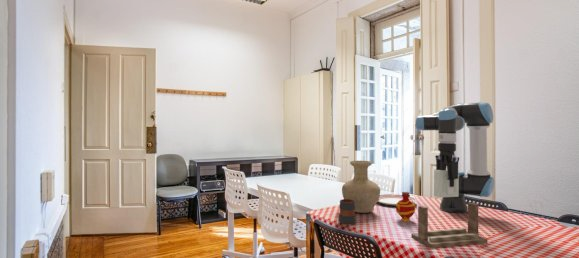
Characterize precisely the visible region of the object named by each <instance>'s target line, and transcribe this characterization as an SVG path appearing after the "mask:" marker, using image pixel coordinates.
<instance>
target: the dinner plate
mask: <svg viewBox="0 0 579 258" xmlns="http://www.w3.org/2000/svg"><path fill="white" fill-rule="evenodd" d="M401 195H402V194H392V193H391V194H390V193H389V194H388V193H387V194H380V197H379V200H378V201H377V203H380V204H382V205H385V206H389V207H390V206H392V207H396V204H397V203H398V201H400V200H402V199H403V197H402V196H401ZM408 199H410V201H412V202H413V203H414V204H415V203H416V202H417V198H415V197H412V196H410V197H408Z"/></svg>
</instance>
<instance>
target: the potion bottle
mask: <svg viewBox="0 0 579 258" xmlns="http://www.w3.org/2000/svg"><path fill="white" fill-rule="evenodd" d="M400 195H401V196H402V197H403V199H402V200H400V201H398V203H397V204H396V206H395V211H396V213H397V214H398V215H399V217H400V221H402V222H411V220H412V219H411V218H412V217H413V216H414V214H415V213H416V209H417V208H416V204H415V203H413V202H412V201H410V199H408V197H411V195H410V192H409V191H402V192H401V194H400Z"/></svg>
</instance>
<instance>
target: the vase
mask: <svg viewBox="0 0 579 258" xmlns="http://www.w3.org/2000/svg"><path fill="white" fill-rule="evenodd" d="M349 164H350V165H351V166H353V169H354V171H353V178H352V179H351V180H348V181H346V182H345V183H344V184H342V188H341V192H342V193H341V194H342V198H343V199H351V200H354V202H355V213H359V214H367V213H371V212H373V211H374V208H375V206H376V205H377V203H378V200H379V197H380V195H381V188H380V186H379V185H378V184H377V183H375V182H374V181H372V180H370V179H369V177H368V172H369V171H368V169H369V167H370V166H372V164H373V162H372V161H370V160H369V161H368V160H350V161H349Z"/></svg>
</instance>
